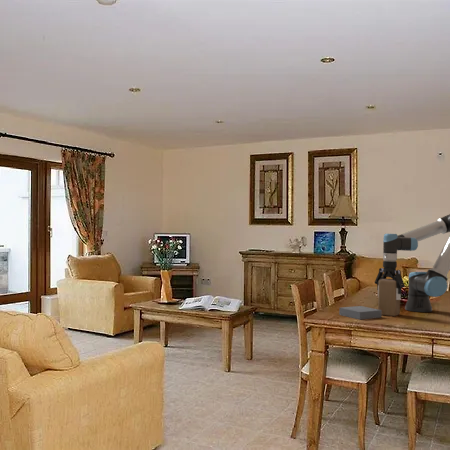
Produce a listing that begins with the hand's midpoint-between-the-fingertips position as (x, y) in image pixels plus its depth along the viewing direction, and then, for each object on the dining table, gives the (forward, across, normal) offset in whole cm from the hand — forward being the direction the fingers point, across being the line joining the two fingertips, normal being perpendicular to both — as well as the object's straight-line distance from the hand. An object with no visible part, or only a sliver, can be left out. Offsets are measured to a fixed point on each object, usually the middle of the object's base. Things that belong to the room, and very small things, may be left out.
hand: (388, 298), depth 297 cm
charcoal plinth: (+10, -3, -19) cm, 21 cm away
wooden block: (+10, 0, 0) cm, 10 cm away
